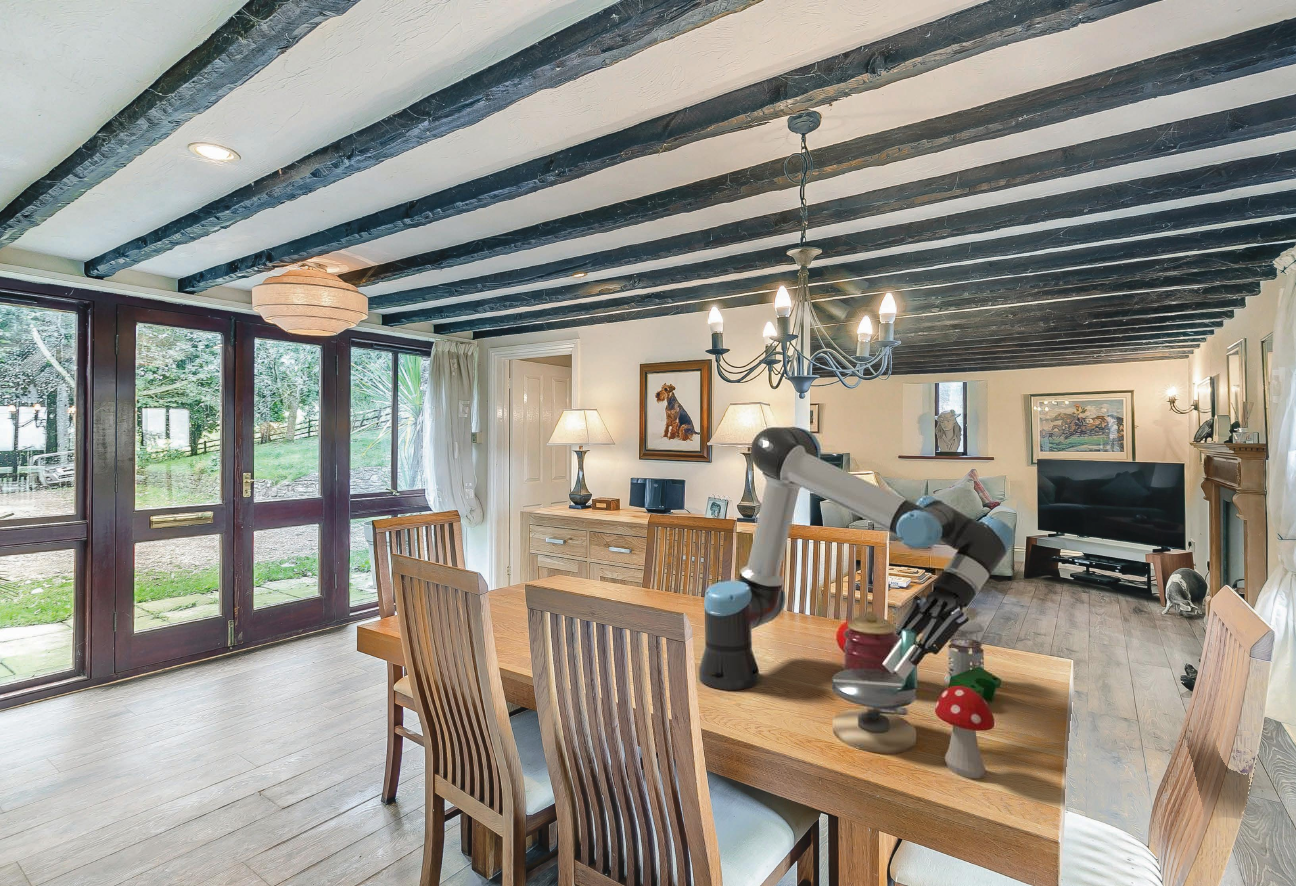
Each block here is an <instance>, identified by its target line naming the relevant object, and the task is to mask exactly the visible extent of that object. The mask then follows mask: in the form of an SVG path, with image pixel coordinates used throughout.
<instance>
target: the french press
mask: <svg viewBox="0 0 1296 886" xmlns="http://www.w3.org/2000/svg"><path fill="white" fill-rule="evenodd" d="M966 608H967V607H965V608H964V614H965V615H966V616H967V612H966V611H967V610H966ZM983 631H985V627H984V626H983V625H981V624H980V623H979V622H977V621H975V620H973V619H970V618H969V621H968V622H967V623H965V624H964V625H962V626H961V627H960V628H959V629H958V630H957V631H956V632H961V633H964V637H960V636H959V637H951V638H950V640H949V643H950V644H948V646H947V650H948V651H947V652H948V653H947V655H948V656H947V657H948V668H947V669H948V674H946V675H945V676H944V678H943V680H944V681H945V682H946V683H948V684H949V682H950V678H951V676H954V675H957V674H960V673H963V672H966V671H968V670H971V669H974V668H977V667H981V668H982V669H984V670H985V663H984V661H985V660H984V659H985V657H984V656H985V652H984V649H983V648H982V646H983V643H982V642H981V641H980V640H978V633H981V632H983ZM967 633H968V635H969V636H968V637H967ZM974 633H975V636H976V639H972V638H971V635H974ZM954 649H955V650H954ZM970 649H971V653H970ZM951 659H952V660H951Z"/></svg>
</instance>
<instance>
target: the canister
mask: <svg viewBox="0 0 1296 886" xmlns="http://www.w3.org/2000/svg"><path fill="white" fill-rule="evenodd" d="M855 617H856V616H855ZM855 617H854V618H853V619H850V620H851V621H849V622H848V623H847V625H848V627H849V629H847V630H846V631H845V632H844V636H845V637H846V644H845V645H844V649H845V653H844V670H849V669H875V670H881V671H886V672H890V671H889V670H888V669H887V668H886V667H885V666H884V665H883V664H882V663H883V662H884V661H885V659H886V658H887V657H888V655H889V654H890V653H891V649H892V648H893V646H894V645H895V644H896V642H897V641H898V639H899V637H898V635H897V634H896V633H895V630H896V628H897V626H895V625H894V624H893V623H891V622H890V621H889V620H888V619H886V618H882V617H878V615H877V613H876V612H875V611H867V612H866V614H865V615H863V616H857V617H856V618H855ZM890 673H891V672H890ZM893 673H894V674H897V673H896V672H895V671H894V672H893ZM897 675H898V674H897Z"/></svg>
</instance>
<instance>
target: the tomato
mask: <svg viewBox="0 0 1296 886" xmlns="http://www.w3.org/2000/svg"><path fill="white" fill-rule="evenodd" d="M854 618H856V616H854ZM851 620H852V619H847V620H846V621H843V623H841V624H840V625H839V627H838V629H837V631H836V633H835V634H836V635H835V637H836V638H835V639H836V643H837V646H838V647H839V648H840V650H841V651H842V653H844V654H845V649H844V645H845V644H846V637H845V636H844V632H845V631H846V630H847V629H849V627H848V625H847V623H848V622H849V621H851Z"/></svg>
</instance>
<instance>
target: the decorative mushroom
mask: <svg viewBox="0 0 1296 886" xmlns="http://www.w3.org/2000/svg"><path fill="white" fill-rule="evenodd" d="M934 707H935V709H934V714H935V715H936V717H938V718H939V720H941V721H942V722H945V723H947V724H949V725H951V726H952V732H951V734H950V740H949V741H950V742H949V745H948V749H947V751H946V752H945V755H944V760H945V764H946V766H947V768H948V769H949V770H950V771H951V772H952V773H954V774H955V775H958V776H960V775H961V776H960V777H963V778H966V777H967V779H971V778H974V779H973V780H979V778H980V779H982V778H983V776H984V774H985V772H986V766H985V765H984V764H985V763H984V762H983V759H982V757H981V753H980V748H979V743H978V737H977V732H978V731H979V732H980V731H981V732H983V731H984V732H985V731H989V730H992V729H994V728H995V718H994V715H993V712H992V710H991V709H990V708H989V705H988V703H987V701H986V699H985V698H983V697H981V696H980V695H979V694H978V693H977V692H975V691H974V690H972V689H970V688H967V687H963V686H953V687H950V688H948V687H947V688H946V689H944V690H943V692H942V693H941V694H940V695H939V698H938V699H937V701H936V703H935V706H934ZM975 778H977V779H975Z"/></svg>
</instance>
